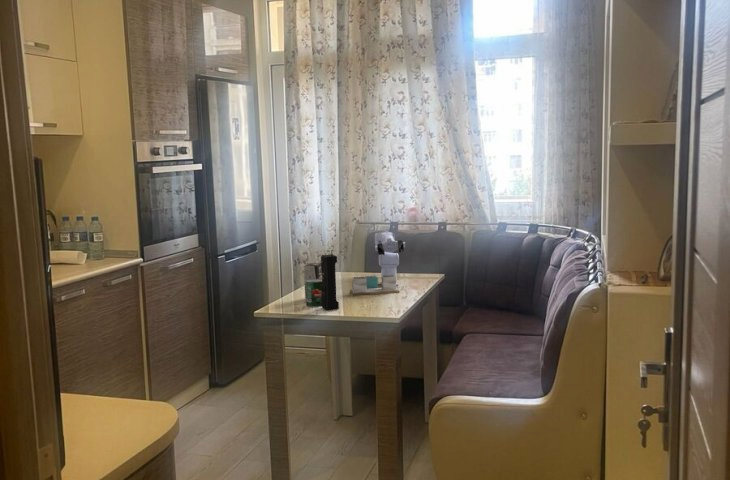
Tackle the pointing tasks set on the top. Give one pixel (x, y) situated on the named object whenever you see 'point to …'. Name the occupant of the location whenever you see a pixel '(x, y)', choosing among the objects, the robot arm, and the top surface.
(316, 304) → the canned tomato
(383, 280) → the board
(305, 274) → the coffee box
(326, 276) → the portable radio
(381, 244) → the robot arm
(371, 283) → the module
